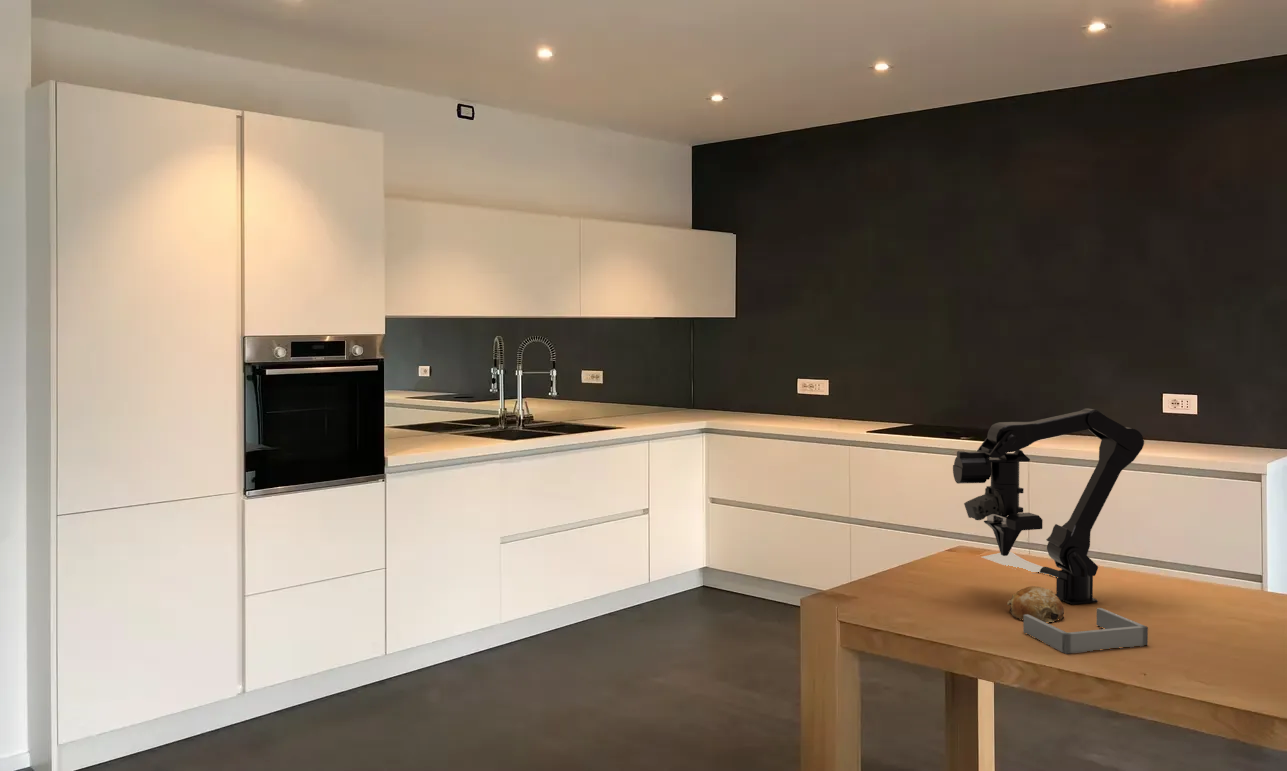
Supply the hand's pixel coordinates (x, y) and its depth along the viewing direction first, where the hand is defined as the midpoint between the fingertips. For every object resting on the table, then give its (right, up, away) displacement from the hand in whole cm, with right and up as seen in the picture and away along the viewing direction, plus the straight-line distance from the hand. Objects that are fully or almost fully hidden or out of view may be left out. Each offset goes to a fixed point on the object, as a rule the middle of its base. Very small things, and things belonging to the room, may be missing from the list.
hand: (1004, 555), depth 217 cm
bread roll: (+3, -11, -10) cm, 15 cm away
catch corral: (+6, -12, -25) cm, 28 cm away
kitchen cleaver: (+16, -9, +28) cm, 33 cm away
